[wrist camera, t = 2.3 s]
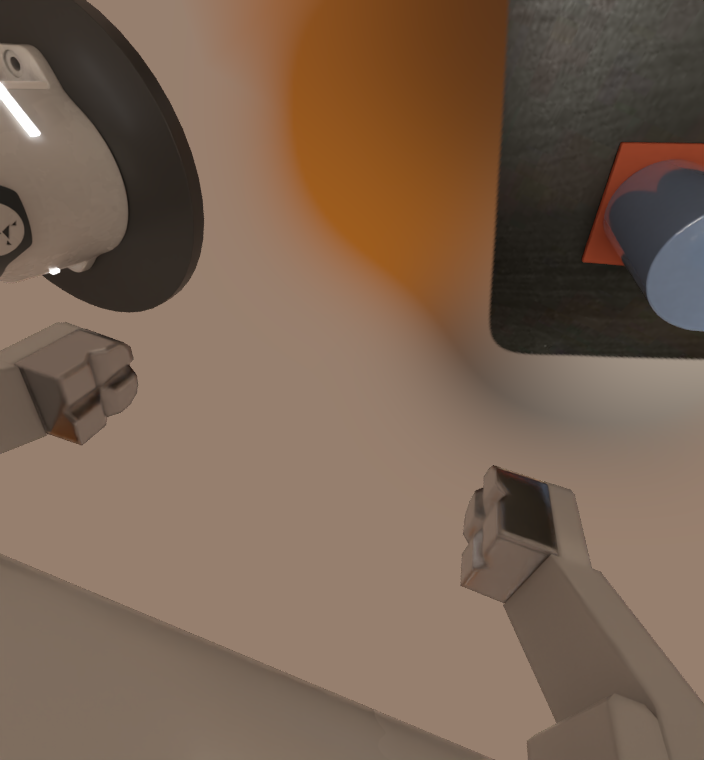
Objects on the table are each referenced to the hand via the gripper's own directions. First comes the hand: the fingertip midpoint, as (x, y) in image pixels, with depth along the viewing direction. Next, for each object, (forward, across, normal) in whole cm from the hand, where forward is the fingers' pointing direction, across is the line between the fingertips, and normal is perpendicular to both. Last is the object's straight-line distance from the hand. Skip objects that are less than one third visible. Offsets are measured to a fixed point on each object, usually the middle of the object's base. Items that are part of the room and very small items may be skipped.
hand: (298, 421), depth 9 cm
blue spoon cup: (+23, +13, +3) cm, 27 cm away
